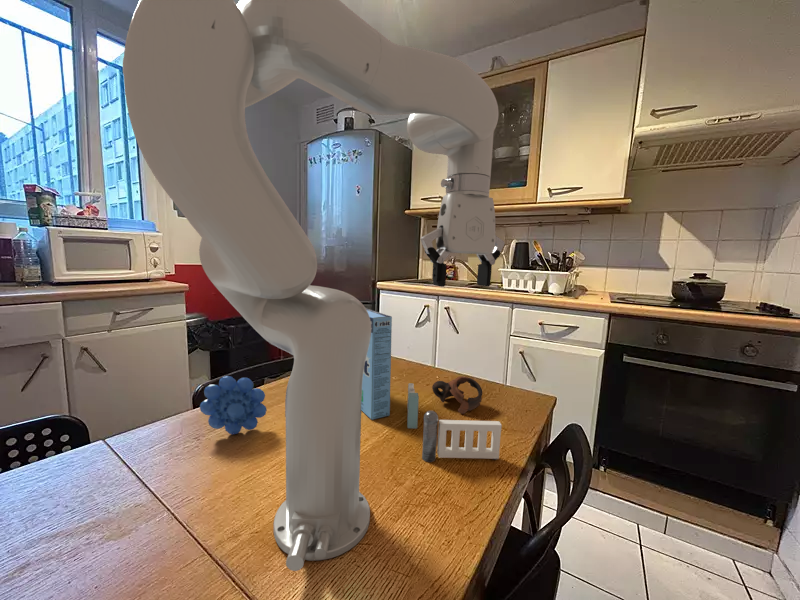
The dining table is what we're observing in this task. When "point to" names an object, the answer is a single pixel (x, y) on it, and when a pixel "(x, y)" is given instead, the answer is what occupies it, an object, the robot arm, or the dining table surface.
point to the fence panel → (410, 389)
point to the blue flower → (233, 404)
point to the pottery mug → (458, 393)
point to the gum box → (377, 368)
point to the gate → (469, 439)
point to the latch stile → (412, 410)
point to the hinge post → (429, 436)
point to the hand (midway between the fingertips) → (461, 285)
